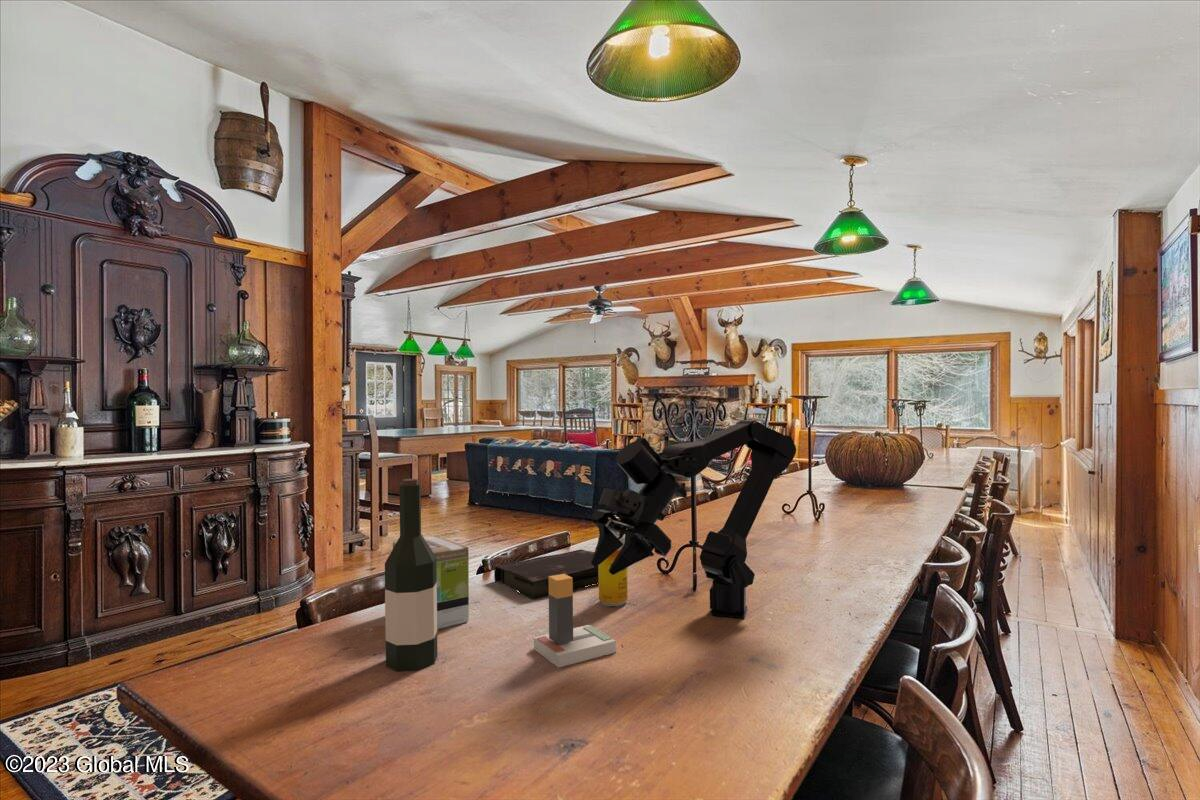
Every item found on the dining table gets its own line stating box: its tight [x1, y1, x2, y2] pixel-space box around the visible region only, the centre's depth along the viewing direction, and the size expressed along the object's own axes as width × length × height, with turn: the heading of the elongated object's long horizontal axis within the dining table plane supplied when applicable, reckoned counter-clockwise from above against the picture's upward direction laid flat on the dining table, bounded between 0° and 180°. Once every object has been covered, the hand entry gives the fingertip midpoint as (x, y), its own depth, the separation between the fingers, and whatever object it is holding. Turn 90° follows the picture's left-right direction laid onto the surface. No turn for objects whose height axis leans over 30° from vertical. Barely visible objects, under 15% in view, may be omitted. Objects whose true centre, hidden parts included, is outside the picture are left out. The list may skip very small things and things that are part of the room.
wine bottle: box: [384, 478, 438, 672], centre depth 106 cm, size 8×8×30 cm
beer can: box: [597, 534, 629, 607], centre depth 135 cm, size 6×6×15 cm
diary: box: [493, 548, 599, 600], centre depth 151 cm, size 19×25×5 cm
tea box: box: [392, 535, 470, 630], centre depth 127 cm, size 15×10×15 cm, turn 39°
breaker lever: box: [548, 574, 574, 644], centre depth 108 cm, size 3×3×10 cm
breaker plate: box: [533, 624, 617, 668], centre depth 109 cm, size 11×9×2 cm
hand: (601, 569), depth 112 cm, fingers open, 6 cm apart
